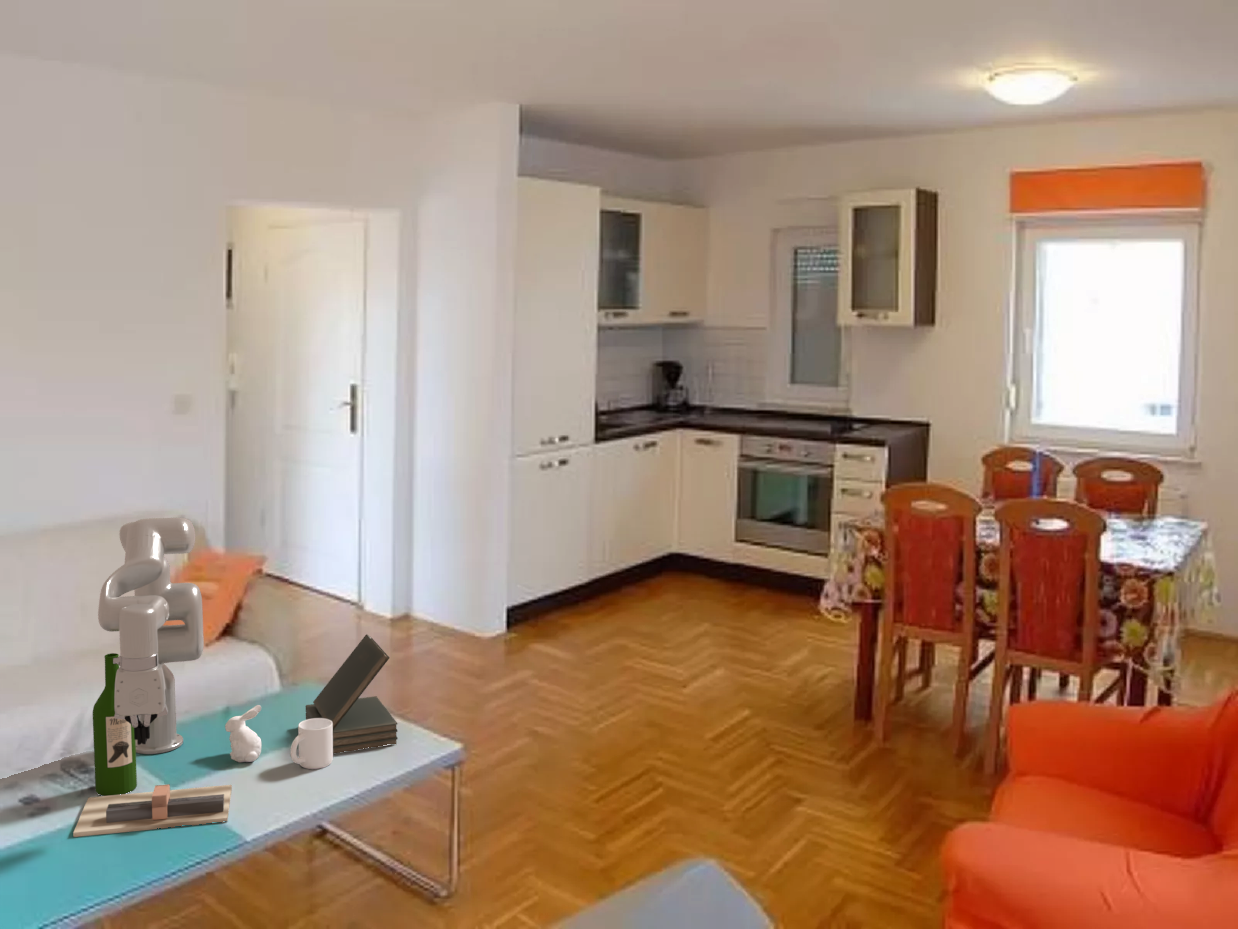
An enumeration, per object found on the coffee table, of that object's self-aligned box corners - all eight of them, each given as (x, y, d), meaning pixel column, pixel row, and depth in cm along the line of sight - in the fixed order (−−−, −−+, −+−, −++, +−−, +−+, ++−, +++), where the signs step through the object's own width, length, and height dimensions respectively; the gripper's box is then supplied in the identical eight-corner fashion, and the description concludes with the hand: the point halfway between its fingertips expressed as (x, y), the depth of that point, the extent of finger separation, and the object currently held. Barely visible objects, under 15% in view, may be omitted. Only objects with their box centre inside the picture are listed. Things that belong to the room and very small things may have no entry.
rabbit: (222, 753, 282) (221, 708, 280) (258, 745, 288) (257, 700, 286) (239, 768, 273) (238, 722, 271) (276, 760, 279) (275, 714, 277)
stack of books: (305, 726, 302) (304, 638, 299) (376, 717, 311) (376, 631, 308) (321, 757, 282) (320, 662, 279) (397, 746, 290) (397, 654, 287)
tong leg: (107, 817, 242) (107, 807, 241) (109, 814, 243) (108, 804, 243) (223, 807, 248) (223, 797, 248) (224, 804, 250) (224, 794, 249)
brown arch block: (155, 807, 247) (155, 785, 247) (170, 806, 248) (169, 784, 247) (152, 819, 241) (151, 797, 241) (167, 818, 242) (166, 796, 241)
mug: (302, 777, 268) (302, 736, 267) (279, 769, 273) (279, 729, 272) (339, 761, 278) (339, 722, 277) (317, 754, 283) (317, 715, 281)
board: (88, 801, 252) (88, 786, 252) (231, 788, 261) (231, 773, 261) (73, 837, 235) (72, 820, 235) (227, 822, 244) (226, 806, 243)
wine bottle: (105, 800, 253) (100, 663, 249) (89, 788, 259) (83, 654, 255) (143, 788, 260) (139, 655, 256) (127, 777, 266) (122, 646, 262)
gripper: (99, 669, 234) (102, 751, 236) (174, 665, 238) (177, 746, 240) (104, 658, 241) (108, 738, 243) (178, 654, 245) (180, 733, 247)
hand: (142, 742), depth 242 cm, fingers closed
